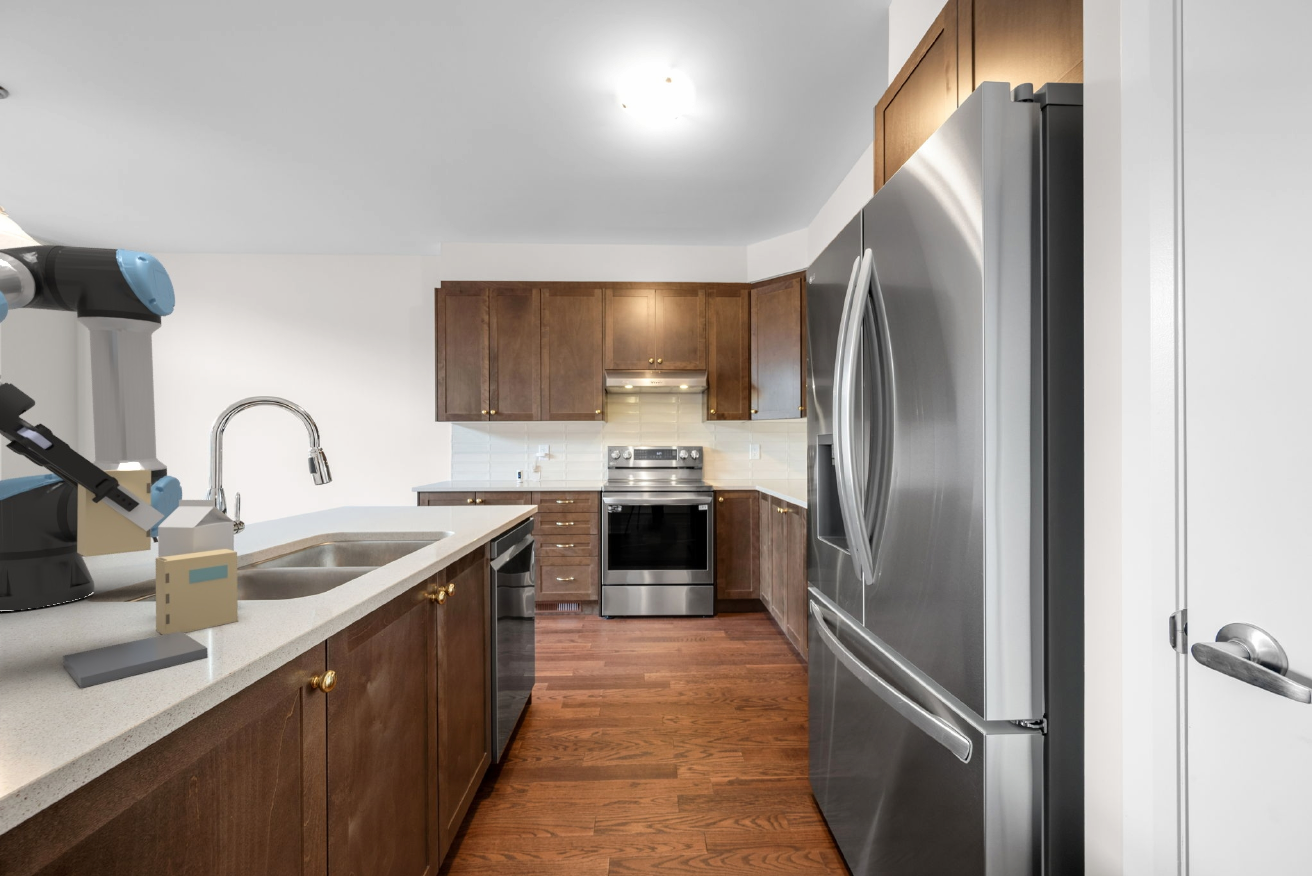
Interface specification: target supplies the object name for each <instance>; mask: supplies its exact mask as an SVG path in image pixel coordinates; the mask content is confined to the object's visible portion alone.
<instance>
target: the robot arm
mask: <svg viewBox="0 0 1312 876" xmlns="http://www.w3.org/2000/svg"><path fill="white" fill-rule="evenodd" d="M175 306H176V296H175V290H174V286H173V283H172V280H171V278H170V275H169V274H168V272H167V270H166V267H164V265H163V264H162V263H161V261H159V260H158V258H156V257H155V256H153V255H152V254H150V253H148V252H144V251H137V250H136V251H135V250H128V249H123V248H105V247H104V248H102V247H84V246H83V247H82V246H66V245H58V244H57V245H56V244H55V245H54V244H53V245H52V244H41V245H29V246H28V245H27V246H18V247H9V248H2V249H0V324H1V323H2V322H3V321H4V320H5V319H6V317H7V316H8V313H9V311H10V310H18V309H35V310H49V311H59V312H60V311H61V312H72V313H73V312H74V313H76V315H77V317H76V318H77V321H78V322H79V323H80V324H81V325H83V326H84V327H85V328H87V330H88V331H89V346H90V347H89V348H90V349H89V350H90V351H89V352H90V370H91V372H90V374H91V388H92V389H91V391H92V415H93V416H92V418H93V434H94V435H93V436H94V437H93V438H94V461H93V462H91V461H90V460H88V459H87V458H86V457H84V456H83V455H81V454H80V453H79V452H77V451H75V450H74V449H73V448H72V447H70V445H69V444H68V443H67V442H66V441H64V440H62V439H61V438H59V437H58V436H56V435H55V434H53V431H52V430H51V429H50V428H49V427H47V426H45V425H44V424H42V423H40V422H39V423H38V424H36V425H32V423H29V422H28V421H26V420H25V419H24V418H22V417H20V416H21V415H23V414H24V413H26V412H27V411H29V410H30V409H32V408H33V407H34V406H35V405H36V401H35V400H34V399H33V398H32V397H30V396H29V395H28V394H27V393H25V392H24V391H22V390H21V389H19V387H17V386H15V385H14V384H13V383H8V382H5V383H3V382H1V381H0V435H1V436H2V437H4V438H6V440H8V441H10V442H9V443H7V444H5V447H7V448H8V449H9V450H11V451H12V452H13V453H16V454H18V455H20V456H23V457H25V458H26V459H27V460H29V461H31V462H32V463H33V464H35V465H37V466H39V467H43V468H45V469H46V470H48V471H49V472H51V473H45V474H36V475H29V476H22V477H20V476H19V477H14V478H7V479H6V478H5V479H1V480H0V610H21V609H28V608H36V609H38V608H37V607H43V606H47V605H53V604H57V603H63V602H66V601H72V600H75V599H79V598H84V597H85V596H88V595H89V594H91V593H92V592H94V593H95V581H94V579H93V577H92V575H91V573H90V570H89V569H88V566H87V563H86V562H85V560H84V558H83V557H84V556H83V555H81V554H79V553H77V530H78V484H80V485H81V486H83V487H84V488H86V489H87V490H89V491H90V492H92V493H93V494H95V496H96V497H94V498H93V499H92V501H93V502H95V503H98V502H99V501H100V500H101V501H102V502H104V503H105V504H107V505H108V506H110V507H111V508H112V509H114V510H115V511H117V512H118V513H120V514H121V515H123V516H124V517H126V518H127V519H129V520H130V521H132V522H133V523H135V524H136V525H138V526H139V527H140V528H142V529H143V530H145V531H148V530H149V529H150V528H151V538H157V537H158V526H159V525H160V524H161V523H162V522H163V521H164V520H165V519H166V518H167V517H168V516H169V515H171V514H172V513H173V512H174V511H175V510H176V509H177V508H178V507H179V500H183V489H182V488H183V487H182V486H181V481H180V480H179V479H178V478H177V477H174V476H172V475H168V466H167V465H166V464H164V463H163V462H162V461H160V460H159V459H158V458H157V444H156V442H157V439H156V419H155V418H156V417H155V416H156V415H155V414H156V413H155V390H154V364H153V340H152V338H153V337H152V335H153V333H155V332H156V331H157V330H159V329H160V328H162V317H166V316H170V315H172V313H173V312H174V310H175V308H174V307H175ZM1 379H2V374H0V380H1ZM106 470H151V506H150V505H149V504H147V503H146V502H144V501H143V500H142V499H140V498H139V497H137V496H136V495H135V494H133V493H132V492H130V491H129V490H127V489H126V488H125V487H123V486H122V485H120V484H118V483H119V482H118V480H117V479H116V478H114V477H111V476H110V475H108V474H107V473H105V472H104V471H106ZM84 599H85V598H84ZM43 608H44V607H43ZM21 611H22V610H21Z"/></svg>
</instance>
